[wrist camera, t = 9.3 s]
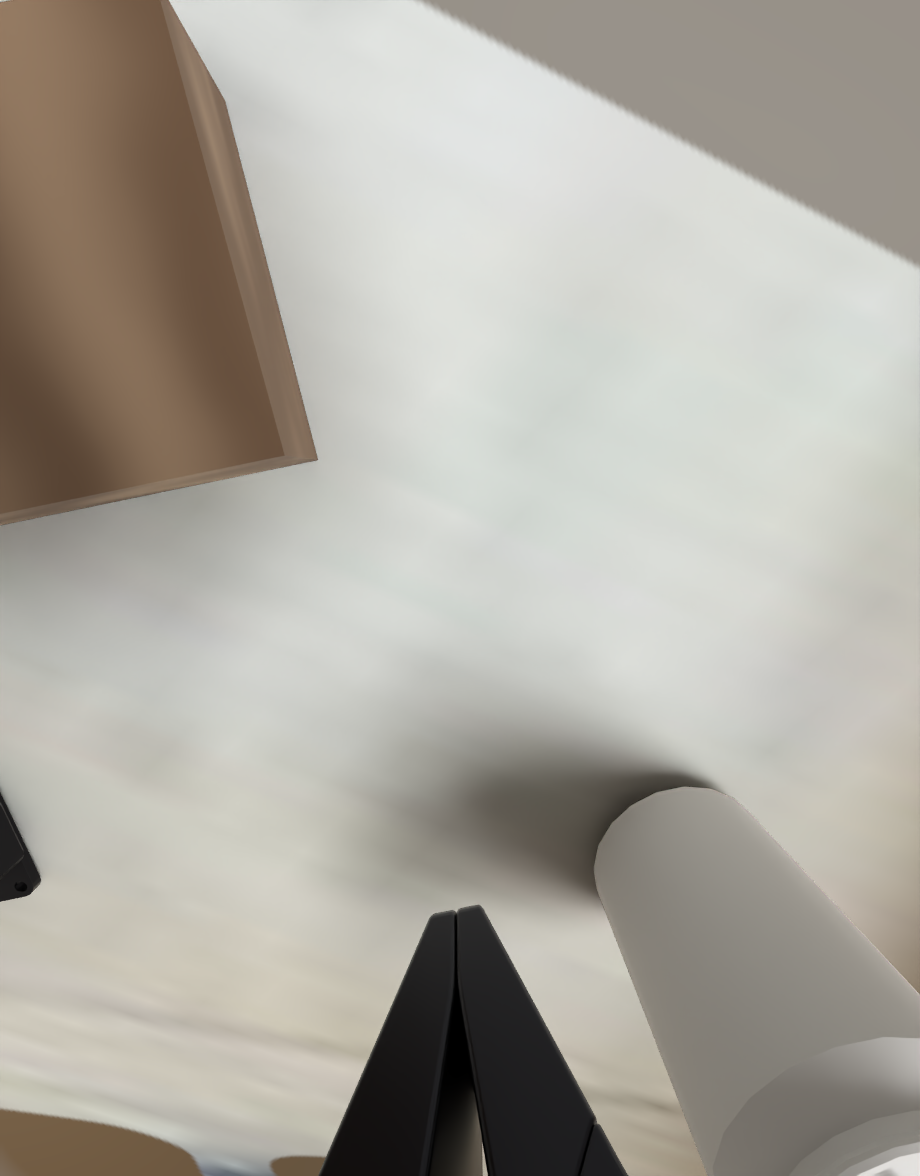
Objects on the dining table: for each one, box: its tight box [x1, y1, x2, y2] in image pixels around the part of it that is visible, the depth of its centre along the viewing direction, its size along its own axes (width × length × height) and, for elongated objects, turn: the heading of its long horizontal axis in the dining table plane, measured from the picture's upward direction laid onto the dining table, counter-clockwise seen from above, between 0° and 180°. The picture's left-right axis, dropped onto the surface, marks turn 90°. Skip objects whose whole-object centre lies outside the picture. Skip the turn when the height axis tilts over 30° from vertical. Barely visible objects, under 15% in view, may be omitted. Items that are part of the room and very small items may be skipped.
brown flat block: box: [0, 0, 318, 525], centre depth 15 cm, size 14×11×4 cm
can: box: [594, 787, 920, 1176], centre depth 16 cm, size 8×8×12 cm
